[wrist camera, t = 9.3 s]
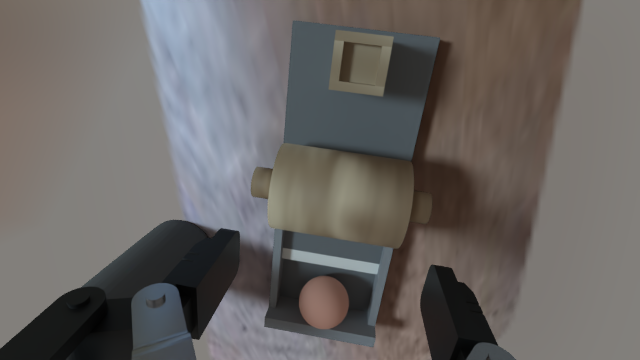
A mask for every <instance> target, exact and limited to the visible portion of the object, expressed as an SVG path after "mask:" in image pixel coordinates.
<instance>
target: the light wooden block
mask: <svg viewBox="0 0 640 360" xmlns="http://www.w3.org/2000/svg"><path fill="white" fill-rule="evenodd" d="M393 39H394V37H393V36H384V35H376V34H367V33H359V32H351V31H342V30H336V32H335V40H334V49H333V57H332V65H331V73H330V81H329V90H337V91H344V92H352V93H360V94H367V95H375V96H382V97H383V93H384V88H385V82H386V77H387V71H388V66H389V61H390V55H391V50H392V44H393Z"/></svg>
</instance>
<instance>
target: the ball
mask: <svg viewBox="0 0 640 360" xmlns="http://www.w3.org/2000/svg"><path fill="white" fill-rule="evenodd" d="M348 307H349V298H348V294H347V291H346V289H345V287H344V286H343V285H342V284H341V283H340V282H339V281H338V280H337V279H335V278H333V277H330V276H318V277H315V278H313V279H311V280H310V281H308V282H307V283H306V284H305V286H304V287H303V289H302V290H301V293H300V296H299V308H300V312H301V314H302V316H303V318H304V319H305V321H306V322H307V323H308V324H310V325H311V326H313V327H315V328H318V329H330V328H333V327H335V326H337V325H338V324H340V323H341V322H342V320H343V319H344V318H345V316H346V314H347V312H348Z"/></svg>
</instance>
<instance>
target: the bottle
mask: <svg viewBox="0 0 640 360" xmlns="http://www.w3.org/2000/svg"><path fill="white" fill-rule="evenodd" d="M205 238H208V237H207V236H206V234H205V233H204V232H203V231H202V230H201V229H199V228H198V227H197V226H195V225H193V224H191V223H189V222H186V221H182V220H170V221H166V222H164V223H162V224H160V225H159V226H157V227H156V228H154V229H153V230H152V231H151V232H149V233H148V234H147V235H145V236H144V237H143V238H142V239H140V240H139V241H138V242H137V243H135V244H134V245H133V246H132V247H130V248H129V249H128V250H127V251H125V252H124V253H123V254H122V255H121V256H119V257H118V258H117V259H116V260H114V261H113V262H112V263H110V264H109V265H108V266H107V267H105V268H104V269H103V270H102V271H100V272H99V273H98V274H97V275H95V277H93V278H92V279H91V280H89V281H88V282H87V283H86V284H85V285H83V286H82V287H99V288H101V289H103V290H104V291H105V294H106V299H118V298H131V297H134V296H135V294H136V293H137V292H139V291H140V290H141V289H143V288H145V287H147V286H149V285H153V284H157V283H161V282H162V281H163V280H164V279H165V278H166V277H167V276H168V274H169V273H170V272H171V271H172V270H173V269H174V268H175V266H176V265H177V264H178V263H179V262H180V261H181V260H182V259H183V257H184V256H185V255H186V254H187V253H188V252H189V251H190V249H191V248H192V247H193V246H194V245H195V244H196V243H198V242H200V241H201V240H203V239H205ZM82 287H81V288H82Z"/></svg>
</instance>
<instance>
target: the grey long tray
mask: <svg viewBox="0 0 640 360" xmlns="http://www.w3.org/2000/svg"><path fill="white" fill-rule="evenodd" d="M336 30H342V31H351V32H359V33H367V34H376V35H384V36H393V37H394V39H393V44H392V50H391V55H390V61H389V66H388V71H387V77H386V82H385V88H384V93H383V97H382V96H375V95H367V94H360V93H352V92H344V91H337V90H329V81H330V73H331V65H332V57H333V49H334V40H335V32H336ZM439 41H440V38H437V37H429V36H420V35H412V34H403V33H395V32H387V31H378V30H370V29H361V28H353V27H344V26H336V25H327V24H319V23H310V22H302V21H293V26H292V40H291V53H290V66H289V79H288V92H287V105H286V118H285V131H284V143H290V144H296V145H303V146H310V147H317V148H324V149H331V150H337V151H344V152H351V153H358V154H365V155H372V156H378V157H385V158H392V159H399V160H406V161H410V162H411V161H412V156H413V152H414V148H415V143H416V139H417V135H418V131H419V126H420V122H421V118H422V113H423V109H424V105H425V101H426V96H427V92H428V88H429V84H430V79H431V75H432V71H433V66H434V62H435V58H436V54H437V49H438V45H439ZM392 252H393V248H389V247H383V246H377V245H371V244H365V243H359V242H353V241H347V240H341V239H335V238H329V237H323V236H317V235H311V234H305V233H299V232H293V231H287V230H281V229H275V232H274V246H273V259H272V273H271V286H270V300H269V308H268V311H267V313H266V316H265V325H264V327H269V328H274V329H279V330H285V331H290V332H295V333H300V334H306V335H311V336H316V337H322V338H327V339H332V340H337V341H343V342H348V343H353V344H359V345H364V346H369V347H373V346H374V342H375V324H376V319H377V315H378V311H379V307H380V303H381V298H382V294H383V290H384V286H385V281H386V277H387V273H388V269H389V265H390V260H391V256H392ZM318 276H330V277H333V278H335V279H337V280H338V281H339V282H340V283H341V284H342V285H343V286H344V287H345V289H346V291H347V294H348V298H349V307H348V312H347V314H346V316H345V318H344V319H343V320H342V322H341V323H340V324H338V325H337V326H335V327H333V328H330V329H318V328H315V327H313V326H311V325H310V324H308V323H307V322H306V321H305V319H304V318H303V316H302V314H301V312H300V308H299V296H300V293H301V290H302V289H303V287H304V286H305V284H306V283H307V282H308V281H310V280H311V279H313V278H315V277H318Z"/></svg>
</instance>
